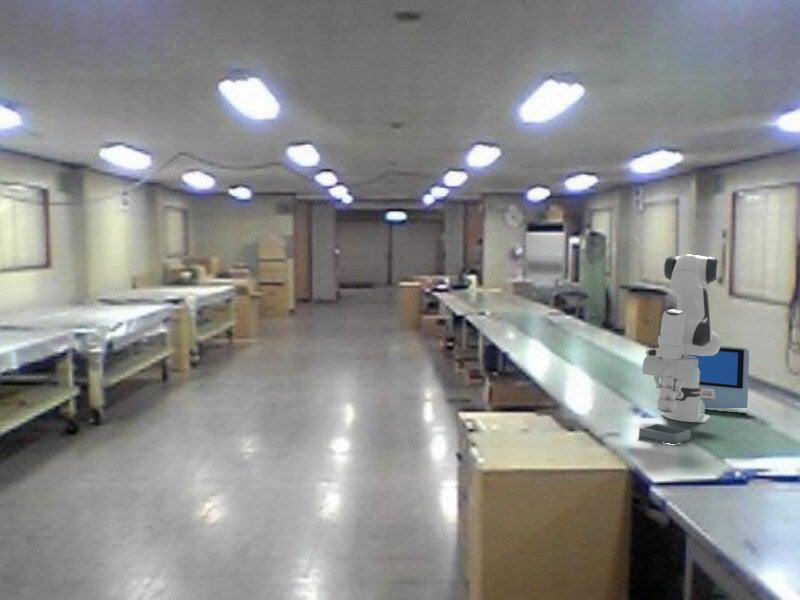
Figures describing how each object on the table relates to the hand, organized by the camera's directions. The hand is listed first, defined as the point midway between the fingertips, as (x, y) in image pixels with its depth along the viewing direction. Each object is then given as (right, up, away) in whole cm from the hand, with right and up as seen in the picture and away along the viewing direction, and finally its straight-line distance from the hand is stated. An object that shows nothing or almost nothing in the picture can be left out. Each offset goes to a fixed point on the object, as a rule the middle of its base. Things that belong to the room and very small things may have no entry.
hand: (668, 389), depth 297 cm
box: (-1, -19, +1) cm, 19 cm away
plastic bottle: (-1, -9, 0) cm, 9 cm away
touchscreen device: (+44, -18, +78) cm, 91 cm away
